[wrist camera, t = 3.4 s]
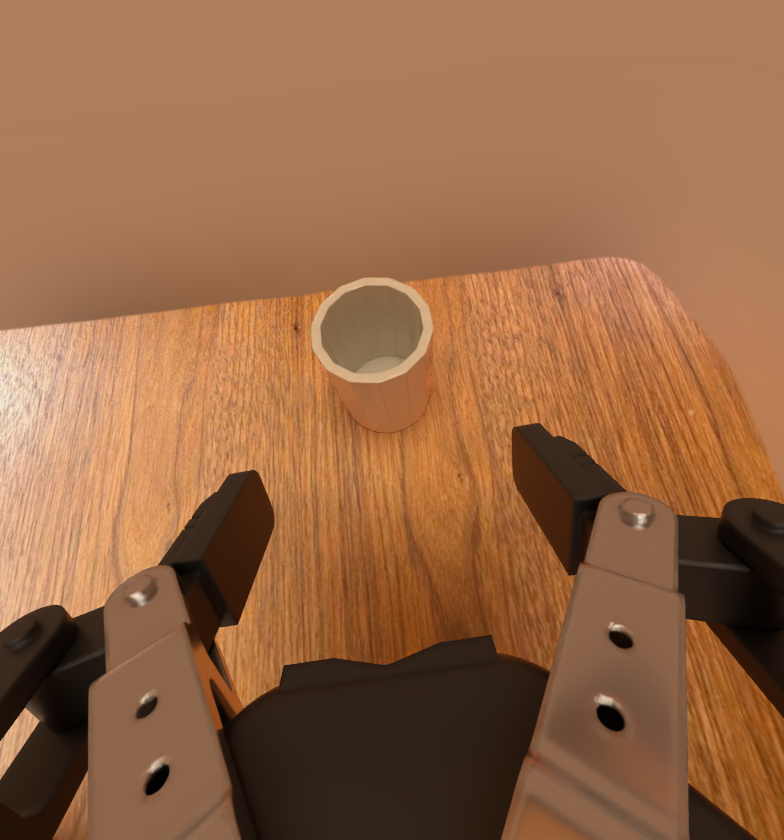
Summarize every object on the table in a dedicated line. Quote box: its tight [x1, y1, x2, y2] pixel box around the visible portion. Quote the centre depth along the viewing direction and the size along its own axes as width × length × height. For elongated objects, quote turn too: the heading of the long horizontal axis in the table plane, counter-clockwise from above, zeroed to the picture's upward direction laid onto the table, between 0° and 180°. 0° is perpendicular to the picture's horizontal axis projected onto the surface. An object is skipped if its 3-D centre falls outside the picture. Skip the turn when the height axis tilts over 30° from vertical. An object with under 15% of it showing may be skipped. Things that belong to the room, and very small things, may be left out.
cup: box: [311, 278, 434, 433], centre depth 21 cm, size 6×6×8 cm
